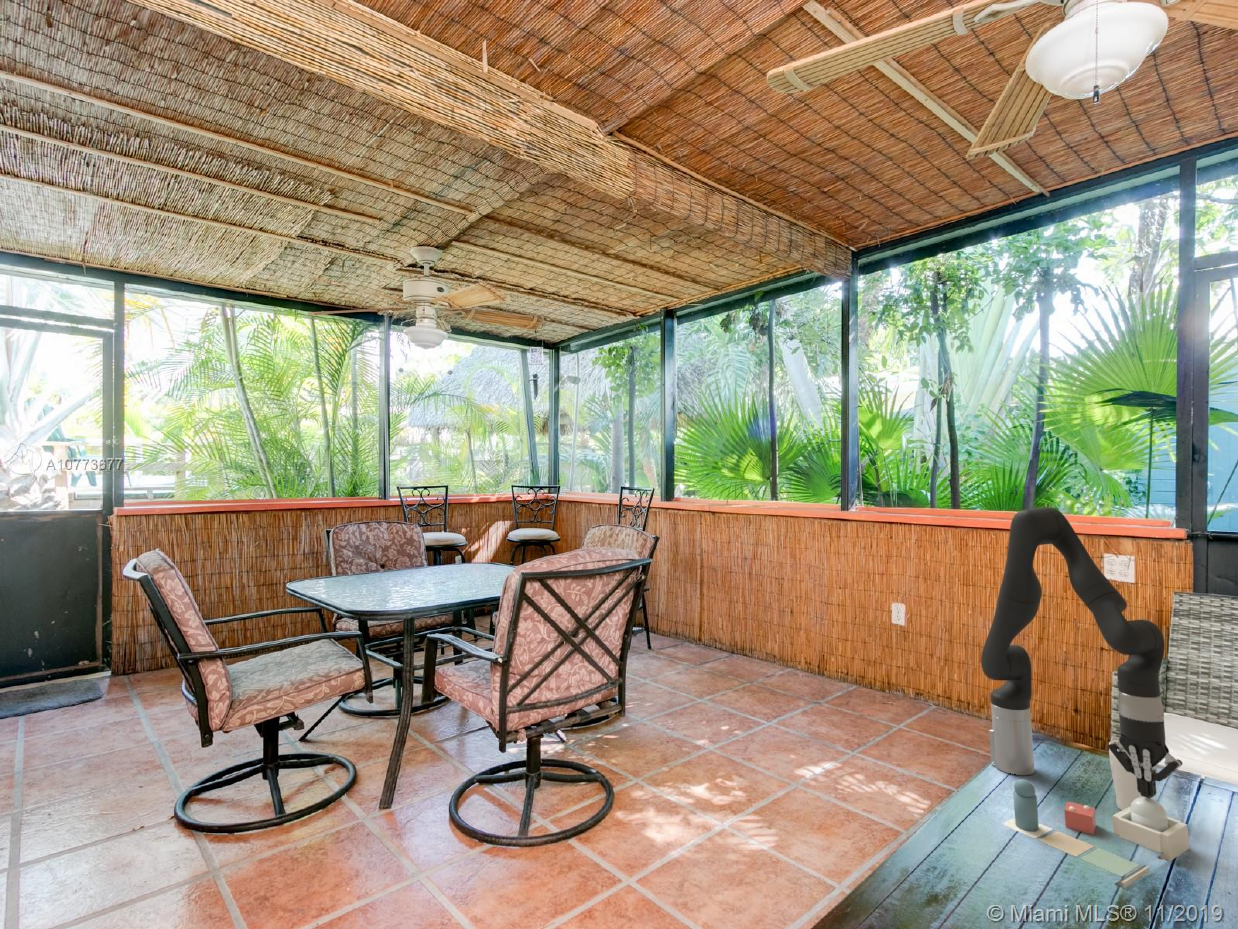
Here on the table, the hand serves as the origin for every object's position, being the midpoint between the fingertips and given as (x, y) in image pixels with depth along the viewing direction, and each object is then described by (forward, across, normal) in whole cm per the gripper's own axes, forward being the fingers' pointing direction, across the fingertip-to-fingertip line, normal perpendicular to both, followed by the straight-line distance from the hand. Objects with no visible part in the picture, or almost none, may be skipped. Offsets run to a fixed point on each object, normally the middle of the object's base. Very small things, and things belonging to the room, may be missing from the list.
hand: (1147, 796), depth 135 cm
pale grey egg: (+8, 0, 0) cm, 8 cm away
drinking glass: (+10, -9, +13) cm, 19 cm away
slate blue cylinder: (+9, -16, -17) cm, 25 cm away
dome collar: (+10, 0, 0) cm, 10 cm away
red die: (+10, -10, -7) cm, 16 cm away
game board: (+10, -8, -17) cm, 21 cm away
